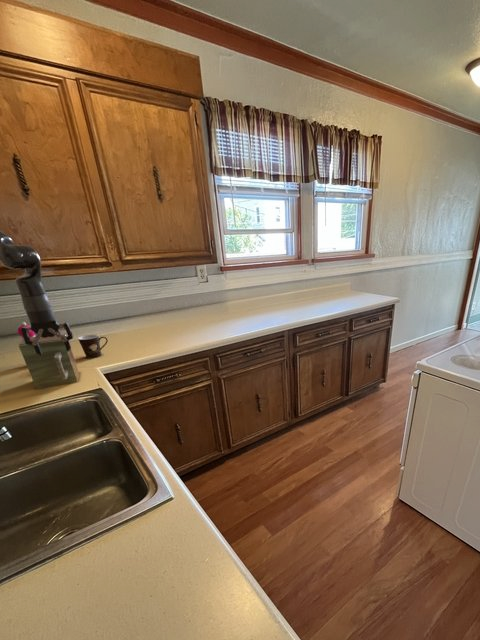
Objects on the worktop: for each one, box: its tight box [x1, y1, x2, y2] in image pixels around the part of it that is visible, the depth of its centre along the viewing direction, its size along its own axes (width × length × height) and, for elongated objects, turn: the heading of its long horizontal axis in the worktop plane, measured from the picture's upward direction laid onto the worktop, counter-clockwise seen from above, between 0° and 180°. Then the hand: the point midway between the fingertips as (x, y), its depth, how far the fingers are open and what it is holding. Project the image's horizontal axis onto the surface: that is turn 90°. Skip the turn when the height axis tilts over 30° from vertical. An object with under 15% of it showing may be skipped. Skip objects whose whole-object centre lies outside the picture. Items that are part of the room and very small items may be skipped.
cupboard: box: [18, 332, 80, 381], centre depth 132 cm, size 10×14×18 cm
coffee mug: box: [77, 334, 108, 359], centre depth 161 cm, size 12×9×10 cm
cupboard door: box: [18, 340, 79, 390], centre depth 125 cm, size 8×14×18 cm, turn 119°
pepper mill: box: [17, 321, 36, 341], centre depth 148 cm, size 7×7×20 cm
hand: (54, 352), depth 121 cm, fingers open, 8 cm apart
